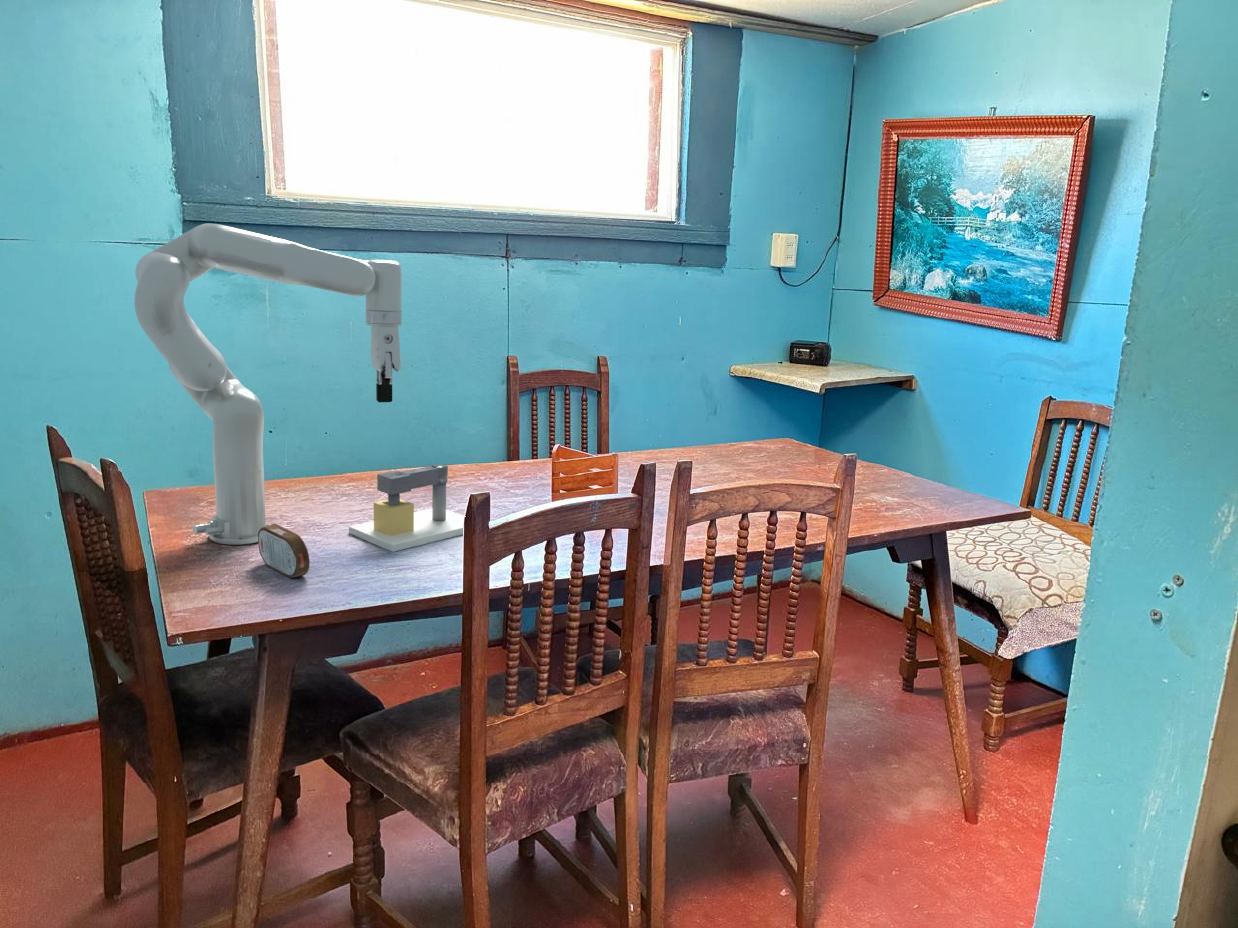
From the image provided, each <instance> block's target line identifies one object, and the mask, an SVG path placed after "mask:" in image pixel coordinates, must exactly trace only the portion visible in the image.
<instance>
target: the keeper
mask: <svg viewBox="0 0 1238 928" xmlns="http://www.w3.org/2000/svg"><path fill="white" fill-rule="evenodd" d="M448 467H449V466H448V465H446V464H440V463H439V464H437V463H436V464H433V465H431V466H425V467H420V468H415V469H408V470H403V471H399V470H393V471H389V472H381V473H377V475H376V476H377V477H376V479H377V484H376V485H377V488H376V489H377V491H378V492H382V493H385V494H386V495H388V494H390V495H395V494H400V495H401V494H404V493H410V492H412V490H415V489H419V488H420V489H421V488H423V487H424V488H425V487H429V486H432V485H435V484H444V483H446V484H447V483H448V481H449V479H448V478H449V475H448V471H449V470H448V469H449V468H448Z"/></svg>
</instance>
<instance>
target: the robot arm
mask: <svg viewBox="0 0 1238 928" xmlns="http://www.w3.org/2000/svg"><path fill="white" fill-rule="evenodd" d="M213 269H217V270H222V271H226V272H232V273H235V274H241V275H245V276H250V277H255V278H259V279H264V280H268V281H273V282H278V283H282V284H288V285H295V286H296V285H297V286H305V287H310V288H314V289H320V290H324V291H328V292H329V291H330V292H333V293H339V294H343V295H347V296H351V297H363V296H365V325H366V326H370V361H371V366H372V367H373V368H374V369H375V372H376V376H375V377H376V382H375V383H376V384H375V387H376V390H375V391H376V394H375V396H376V397H375V398H376V402H378V403H392V402H393V371H396V372H398V373H399V372H400V371H401V367H402V365H401V345H400V344H401V343H400V333H399V327H401V326H402V323H403V322H402V320H403V319H402V311H403V310H402V266H401V264H400V263H399V262H398V261H396V260H386V259H371V260H363V259H358V258H353V257H350V256H346V255H342V254H337V253H332V252H330V251H329V252H328V251H324V250H320V249H317V248H313V247H309V246H306V245H303V244H300V243H297V242H294V241H290V240H286V239H283V238H278V237H274V236H271V235H270V236H269V235H266V234H262V233H257V232H254V231H249V230H245V229H241V228H238V227H237V228H236V227H233V226H229V225H223V224H218V223H211V222H210V223H209V222H208V223H202V224H199V225H197V226H195V227H193V228H192V229H190V230H188V231H186V232H185V233H183V234H181V235H179V236H177V237H176V238H173V239H172V240H170V241H168V242H166V243H164V244H162V245H161V246H159V247H157V248H155V249H153V250H152V251H151V250H150V251H149V252H147V253H146V254H144V255H143V256H142V257H141V258H140V259H139V260H138V262H137V264H136V266H135V269H134V270H135V271H134V272H135V279H136V281H137V285H136V288H135V292H134V311H135V314H136V318H137V321H138V323H139V325H140V327H141V329H142V331H143V332H144V333H145V335H146V336H147V338H148V339H149V340H150V341H151V342H152V344H153V345H154V347H155V348H156V349H157V350H158V352H159V354H161V356H162V357H163V358H164V359H165V360H166V362H167V363H168V366H169V369H170V372H171V373H172V375H173V377H174V378H176V380H177V381H178V382H179V384H180V385H181V387H183V388H184V390H185V391H186V392H187V393H188V394H189V396H190V397H191V399H193V400H194V402H195V403H196V405H198V406H199V407H200V409H201V410H202V411H203V412H204V414H205V415H206V416H207V417H208V418H209V419H210V420H211V421H212V428H213V429H212V430H213V431H212V433H213V434H212V459H213V460H212V462H213V464H212V465H213V473H214V474H213V475H214V476H213V477H214V494H215V496H214V497H215V498H214V499H215V515H212V516H211V520H208V522H207V523H199V524H194V525H192V531H193V534H194V535H199V534H205V535H206V536H208V537H209V539H210V540H211V541H213V542H214V543H217V544H222V545H230V546H231V545H232V546H233V545H239V546H240V545H249V544H256V543H258V532H259V530H260V529H261V528H263V527H266V526H269V525H270V524H268V523H267V521H266V520H267V519H266V500H265V499H266V498H265V497H266V496H265V495H266V494H265V473H264V472H265V471H264V470H265V469H264V448H263V447H264V446H263V443H264V442H263V441H264V429H265V428H264V426H265V412H264V408H263V405H262V403H261V401H260V399H259V397H258V396H257V395H256V394H255V393H253V391H251V390H249V389H248V388H247V387H245V386H244V385H243V384H242V383H241V381H240V380H239V379H238V378H237V377H236V375H235V374H234V373H233V372H232V371H231V369H230V368H229V367H228V366H227V363H226V360H225V358H224V356H223V354H222V353H221V352H220V351H219V350H218V349H217V348H216V347H215V346H214V345H213V344H212V343H211V342H210V340H208V338H207V336H205V335H204V333H203V332H202V331H201V329H200V328H199V327H198V326H197V324H196V322H195V321H194V320H193V318H192V317H191V316H190V313H188V311H187V309H186V307H185V301H184V300H185V295H186V292H187V290H188V288H189V286H190V283H191V282H192V281H194V280H196V279H198V278H199V277H201V276H203V275H204V274H206V273H207V272H209V271H211V270H213Z"/></svg>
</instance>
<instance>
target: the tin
mask: <svg viewBox="0 0 1238 928" xmlns="http://www.w3.org/2000/svg"><path fill="white" fill-rule="evenodd" d="M268 525H269V526H266V527H263V528H261V529H260V530H259V532H258V542H257V543H258V552H259V554H260V557H261V559H262V561H263V563H264V564H265V565H266V566H267V567H269V568H270V569H272V570H274V571H276V572H278V573H280V575H281V574H282V575H284V576H285V577H287V578H289V579H295V578H298V577H301V576H306V575H307V574H308V572H309V569H310V565H311V564H310V561H311V560H310V556H309V554H310V553H309V551H308V548H307V545H306V543H305V542H304V540H303V538H302V537H301V536H300V534H299V535H298V534H297V533H296V532H293V531H292V530H289V529H288V528H285V527H283V526H281V525H279V524H278V523H271V524H268Z"/></svg>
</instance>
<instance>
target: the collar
mask: <svg viewBox="0 0 1238 928" xmlns="http://www.w3.org/2000/svg"><path fill="white" fill-rule="evenodd" d="M414 506H415V505H414V503H412V502H411V501H410V502H409V501H407V500H405V499H402V498H400V505H396V506H389V505H388V499H383V500H379V501H378V500H377V501H374V502H373V521H374V529H375V530H377V531H379V532H382V533H384V534H387V535H389V536H392V535H396V534H401V533H405V532H409V531H414V512H415V508H414Z"/></svg>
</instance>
